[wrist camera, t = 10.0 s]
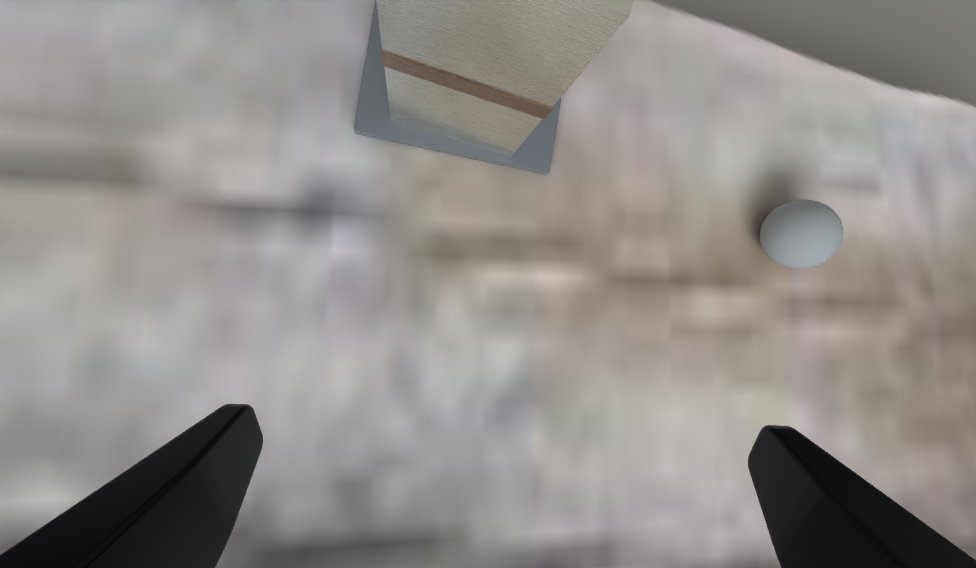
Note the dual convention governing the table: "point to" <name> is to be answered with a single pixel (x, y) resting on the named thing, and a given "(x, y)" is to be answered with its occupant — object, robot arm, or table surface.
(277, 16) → the table surface
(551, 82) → the striped paper box
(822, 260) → the gray ball
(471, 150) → the slate mat
